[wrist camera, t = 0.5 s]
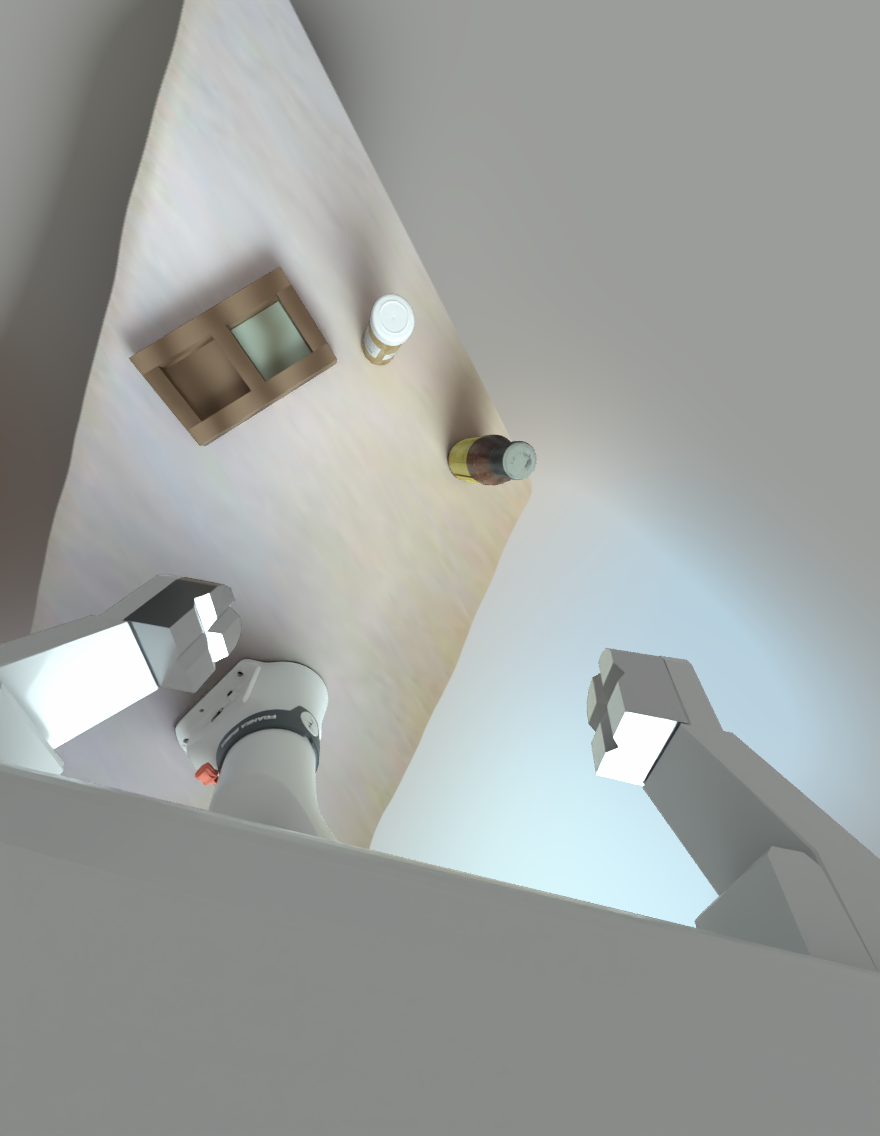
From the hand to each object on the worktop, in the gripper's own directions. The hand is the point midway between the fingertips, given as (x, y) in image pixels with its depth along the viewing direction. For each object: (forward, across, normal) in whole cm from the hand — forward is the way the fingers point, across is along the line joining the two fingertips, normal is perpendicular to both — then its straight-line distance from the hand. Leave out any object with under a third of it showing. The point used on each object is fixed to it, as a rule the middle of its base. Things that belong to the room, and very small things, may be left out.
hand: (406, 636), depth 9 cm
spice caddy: (+45, -33, -2) cm, 56 cm away
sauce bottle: (+55, -5, -13) cm, 56 cm away
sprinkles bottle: (+53, -18, +1) cm, 56 cm away
